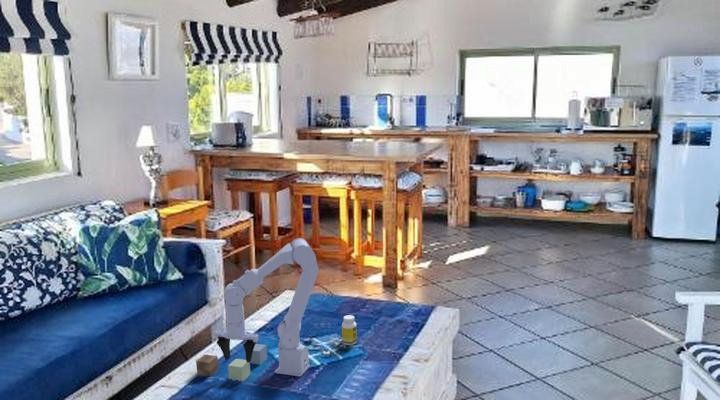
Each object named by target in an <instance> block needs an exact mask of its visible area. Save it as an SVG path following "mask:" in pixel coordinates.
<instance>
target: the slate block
mask: <svg viewBox="0 0 720 400" xmlns="http://www.w3.org/2000/svg"><path fill="white" fill-rule="evenodd" d="M267 359H268V351H267V344H261V343H260V344H259V343H256V344H255V346H254V349H253V353H252V358H251V361H250V362H249V363H250V364H251V363H252V365H253V364H254V365H260V366H261V365H262V364H263V363H264V362H265V361H266V360H267Z"/></svg>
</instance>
